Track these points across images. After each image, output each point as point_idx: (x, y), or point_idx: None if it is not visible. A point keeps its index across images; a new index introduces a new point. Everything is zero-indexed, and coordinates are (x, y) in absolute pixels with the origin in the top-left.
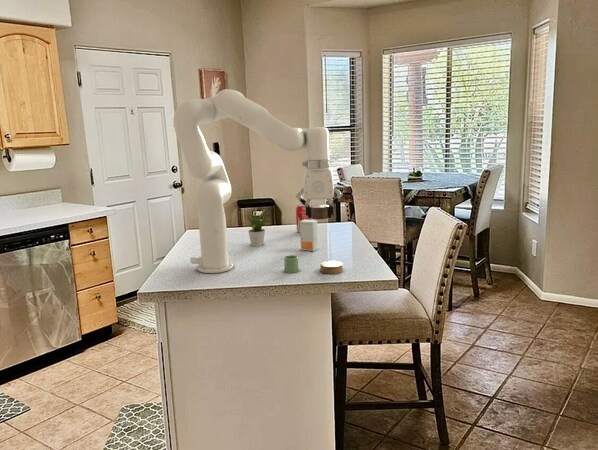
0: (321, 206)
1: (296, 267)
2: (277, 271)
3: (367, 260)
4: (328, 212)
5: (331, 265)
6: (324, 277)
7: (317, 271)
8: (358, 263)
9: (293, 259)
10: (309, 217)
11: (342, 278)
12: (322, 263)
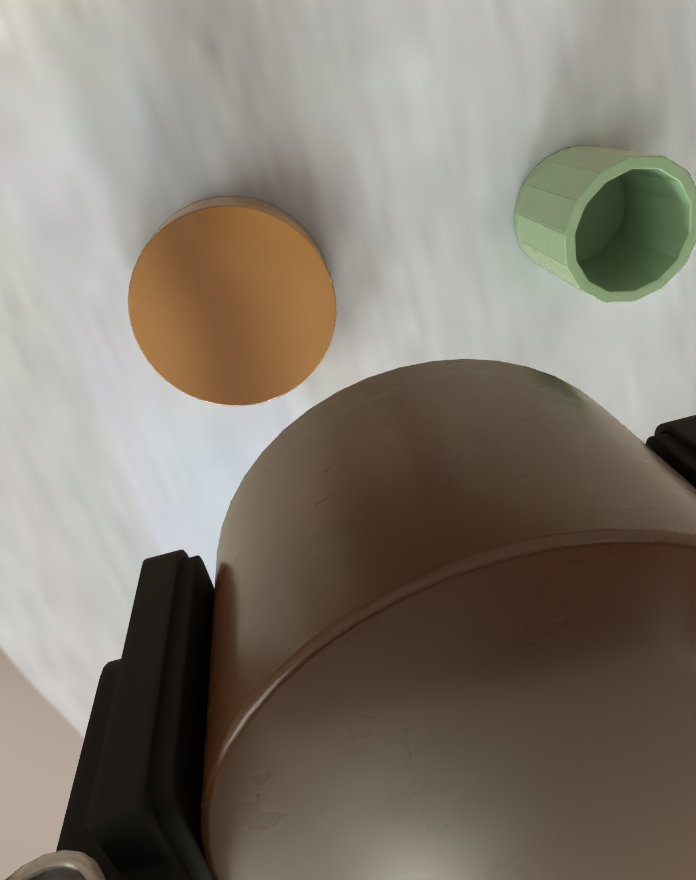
0: (454, 772)
1: (537, 189)
2: (687, 167)
3: (64, 615)
4: (212, 651)
5: (215, 262)
6: (231, 75)
7: (349, 251)
8: (98, 535)
9: (596, 172)
10: (668, 435)
11: (51, 82)
12: (319, 308)
